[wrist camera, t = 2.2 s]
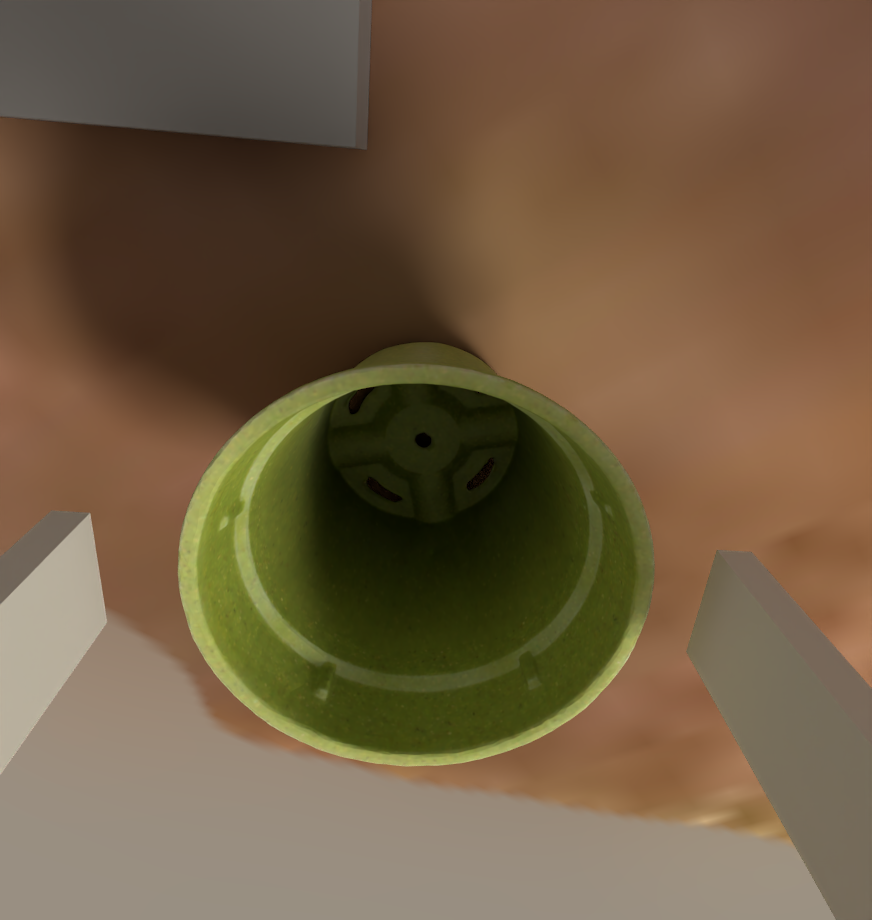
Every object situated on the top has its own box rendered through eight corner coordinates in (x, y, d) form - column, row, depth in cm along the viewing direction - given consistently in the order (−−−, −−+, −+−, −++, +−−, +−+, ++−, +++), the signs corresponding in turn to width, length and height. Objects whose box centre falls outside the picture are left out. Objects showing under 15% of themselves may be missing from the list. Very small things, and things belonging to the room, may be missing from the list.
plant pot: (222, 470, 21) (99, 654, 13) (371, 214, 18) (327, 255, 10) (458, 598, 23) (473, 820, 15) (628, 391, 20) (759, 539, 12)
